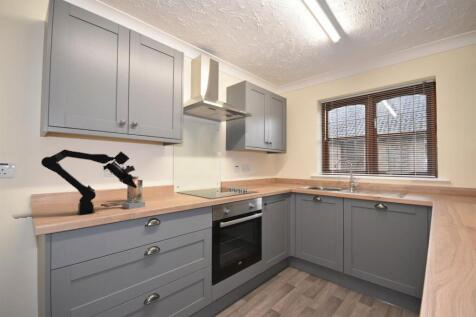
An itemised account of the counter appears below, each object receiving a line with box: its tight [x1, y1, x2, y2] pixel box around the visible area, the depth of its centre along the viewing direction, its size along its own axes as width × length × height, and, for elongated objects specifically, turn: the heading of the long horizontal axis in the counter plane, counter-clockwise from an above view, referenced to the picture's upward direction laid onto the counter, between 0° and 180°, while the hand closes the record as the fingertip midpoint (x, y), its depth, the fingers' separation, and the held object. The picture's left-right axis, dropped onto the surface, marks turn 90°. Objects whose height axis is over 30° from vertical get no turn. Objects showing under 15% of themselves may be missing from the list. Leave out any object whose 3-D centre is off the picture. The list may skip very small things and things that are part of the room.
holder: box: [121, 200, 146, 210], centre depth 141 cm, size 10×10×4 cm
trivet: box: [100, 201, 122, 208], centre depth 151 cm, size 12×12×2 cm
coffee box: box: [126, 179, 143, 202], centre depth 174 cm, size 9×6×16 cm
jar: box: [129, 175, 139, 197], centre depth 142 cm, size 6×6×13 cm
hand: (135, 187), depth 143 cm, fingers closed on jar, 5 cm apart
